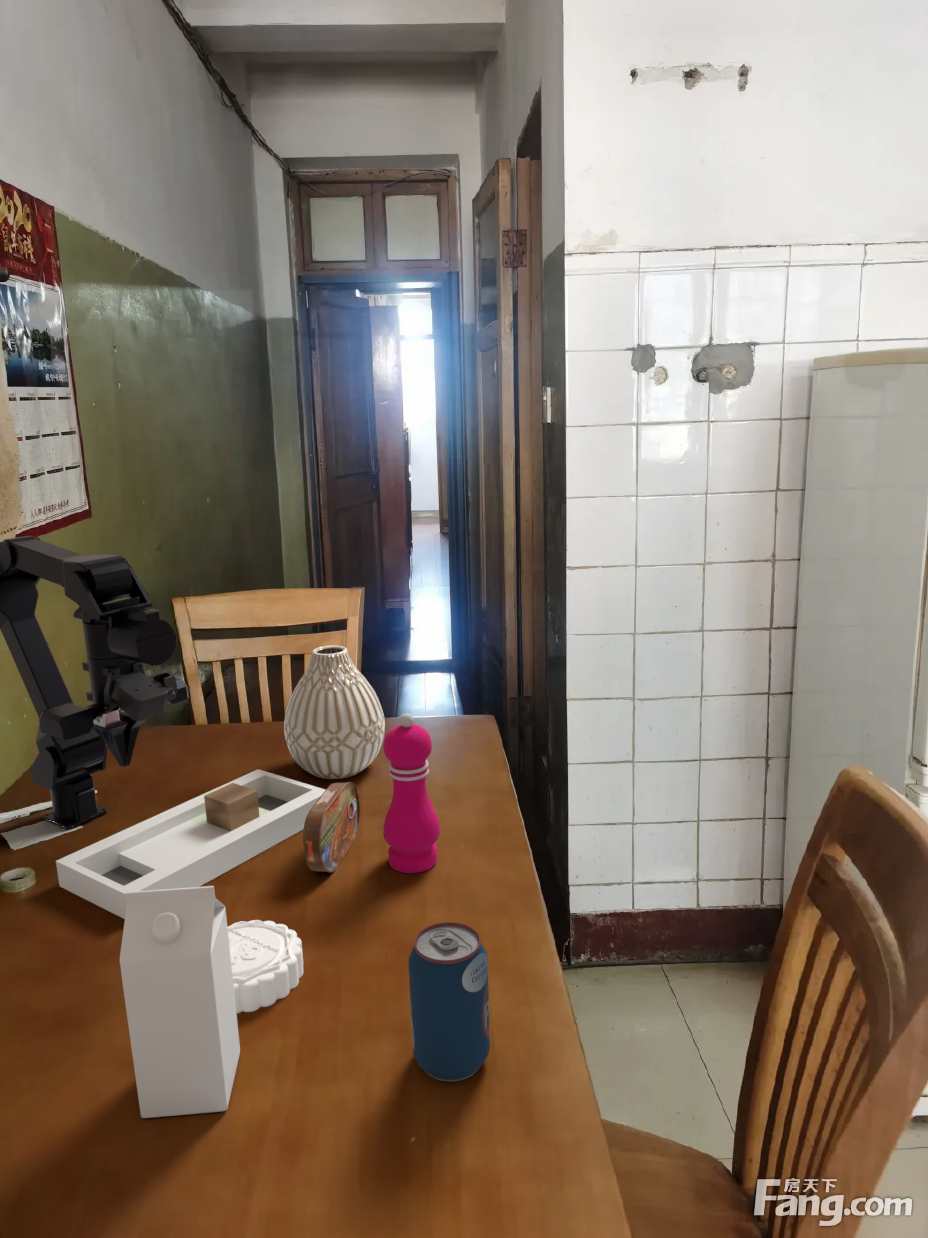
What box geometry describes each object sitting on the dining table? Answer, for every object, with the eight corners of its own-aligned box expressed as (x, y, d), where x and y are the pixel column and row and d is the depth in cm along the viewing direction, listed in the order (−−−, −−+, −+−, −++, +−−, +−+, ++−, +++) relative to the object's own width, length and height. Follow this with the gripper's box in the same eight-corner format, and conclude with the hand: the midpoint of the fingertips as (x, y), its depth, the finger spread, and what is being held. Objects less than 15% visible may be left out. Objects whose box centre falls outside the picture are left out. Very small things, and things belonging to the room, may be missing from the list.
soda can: (505, 1066, 80) (503, 946, 77) (438, 1099, 76) (433, 975, 73) (463, 1022, 85) (459, 909, 82) (399, 1052, 82) (392, 935, 79)
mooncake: (160, 989, 92) (156, 958, 91) (249, 932, 101) (246, 903, 101) (241, 1033, 85) (237, 1000, 84) (328, 967, 95) (325, 936, 94)
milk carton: (161, 1060, 82) (137, 870, 77) (240, 1053, 82) (221, 865, 78) (140, 1120, 75) (112, 916, 70) (227, 1113, 75) (205, 910, 71)
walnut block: (206, 822, 123) (204, 795, 122) (235, 809, 127) (232, 782, 126) (231, 831, 120) (228, 804, 119) (259, 817, 124) (257, 790, 123)
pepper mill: (450, 853, 117) (445, 708, 112) (425, 880, 111) (418, 727, 106) (402, 843, 120) (394, 701, 115) (374, 869, 114) (365, 720, 109)
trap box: (59, 886, 112) (55, 861, 111) (260, 790, 138) (258, 769, 137) (132, 923, 103) (129, 896, 102) (331, 813, 129) (330, 791, 128)
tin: (325, 885, 110) (321, 822, 108) (301, 883, 111) (296, 820, 109) (363, 828, 125) (359, 772, 123) (341, 827, 125) (338, 771, 123)
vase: (308, 798, 135) (298, 670, 130) (274, 763, 148) (264, 646, 143) (403, 774, 142) (398, 652, 137) (363, 743, 156) (356, 631, 151)
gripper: (80, 682, 105) (97, 805, 109) (208, 645, 120) (219, 754, 123) (28, 668, 111) (46, 785, 115) (156, 634, 126) (168, 739, 130)
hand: (124, 765), depth 120 cm, fingers closed
